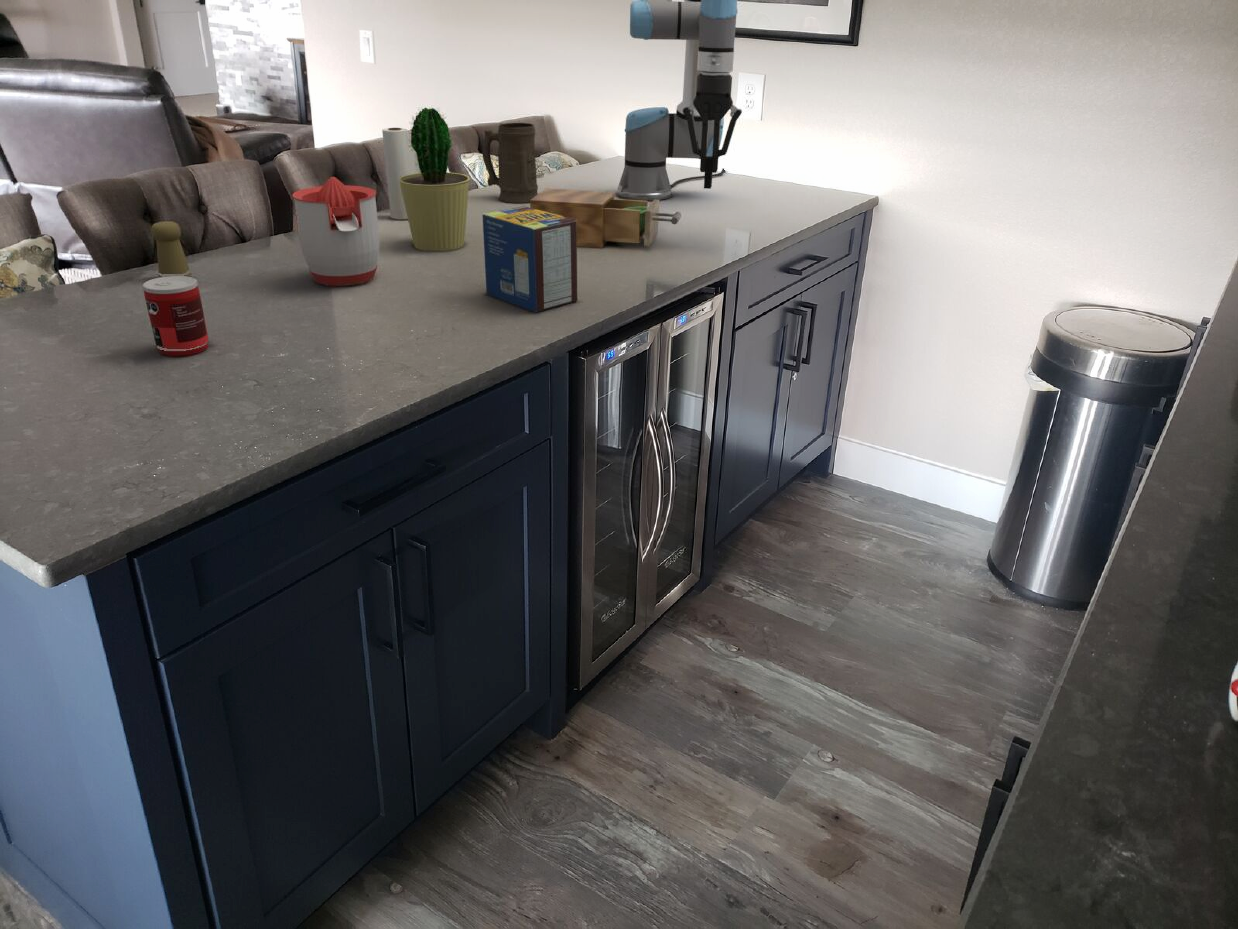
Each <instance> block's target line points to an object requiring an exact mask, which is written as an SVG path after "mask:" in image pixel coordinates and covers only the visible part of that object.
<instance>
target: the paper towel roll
mask: <svg viewBox="0 0 1238 929" xmlns="http://www.w3.org/2000/svg"><path fill="white" fill-rule="evenodd" d="M381 132H382V141H383V142H382V143H383V152H384V164H385V174H386V184H387V193H388V194H387V195H388V205H389V216H390V219H393V220H408V217H407V213H406V208H405V204H404V200H403V195H402V191H401V187H400V181H399V178H400V177H402V176H405V175H409V174H415V173H421V170H420V168H419V166H418V165H419V164H418V160H417V157H416V152H415V150H413V149H412V148H413V147H412V146H411V145H412V144H411V141H410V140H411V130H410V129H408V128H406V127H405V128H404V127H386V128H383V129H381ZM408 132H409V133H410V134H409V133H408ZM407 138H408V139H407ZM408 140H409V141H408ZM409 142H410V143H409ZM408 146H411V147H408ZM411 149H412V150H411ZM415 159H416V160H415ZM415 161H416V162H415ZM416 163H417V164H418V165H417V164H416ZM414 165H415V166H414ZM416 167H417V168H416Z"/></svg>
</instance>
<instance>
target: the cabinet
mask: <svg viewBox="0 0 1238 929" xmlns="http://www.w3.org/2000/svg"><path fill="white" fill-rule="evenodd" d="M615 194H616V193H615V192H614V191H613V192H612V191H597V190H582V189H566V188H565V189H563V188H550V187H549V188H548V187H547V188H546V187H545V188H544V189H543V190H542V191H540V192H539V193H538V195H536V196H535V197H534V198H532V199H531V200H530V202H529V208H533V209H537V210H541V211H545V212H548V213H552V214H556V215H560V216H564V217H568V218H572V219H576V220H577V247H583V248H596V249H597V248H598V249H602V248H604V246H605V245H607V243H608V241H603V207H604V206H605V205H606V204H607V203H608V202H609V201H610V200H611V199H615Z"/></svg>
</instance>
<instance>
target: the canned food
mask: <svg viewBox="0 0 1238 929" xmlns="http://www.w3.org/2000/svg"><path fill="white" fill-rule="evenodd" d="M142 291H143V296H144V300H145V304H146V308H147V312H148V317H149V321H150V325H151V330H152V334H153V339H154V343H155V346H156V345H157V346H159V347H162V348H167V349H190V348H195V347H197V346H202V345H203V344H205V343H206V342H208V339H209V334H208V329H207V324H206V318H205V313H204V308H203V302H202V298H201V292H200V287H199V283H198V280H197V279H196V278H194V277H192V278H191V277H186V276H168V277H160V278H159V277H156V278H152V279H149V280H147V281H145V282H144V283H143V284H142ZM209 342H210V341H209ZM209 342H208V343H207V344H206V345H204V346H202V347H199V348H196V349H192V350H186V351H164V350H160V349H158V348H157V347H156V349H157V351H158V352H159V354H161V355H164V356H166V357H167V356H169V357H187V356H194V355H197V354H200V353H202V352H204V351H206V350H207V349H208V348H209V344H210V343H209Z"/></svg>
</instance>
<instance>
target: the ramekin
mask: <svg viewBox="0 0 1238 929" xmlns="http://www.w3.org/2000/svg"><path fill="white" fill-rule="evenodd" d="M648 207H649V206H648ZM648 207H643V206H638V207H630V208H624V209H631V210H640V231H643V230H645V211H646V210H647V208H648Z"/></svg>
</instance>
